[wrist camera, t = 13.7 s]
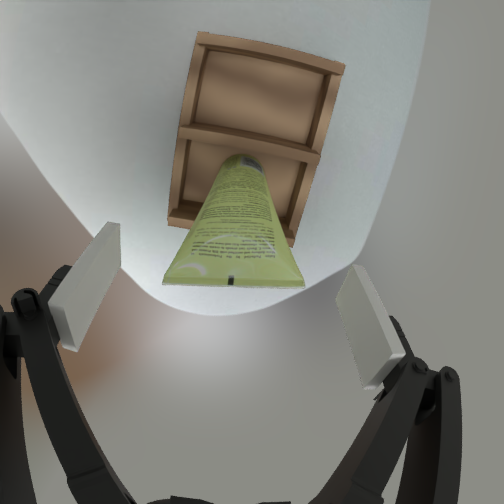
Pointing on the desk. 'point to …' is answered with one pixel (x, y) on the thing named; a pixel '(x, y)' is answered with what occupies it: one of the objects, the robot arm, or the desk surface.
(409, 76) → the desk surface
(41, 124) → the desk surface
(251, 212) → the tube
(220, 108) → the rack
